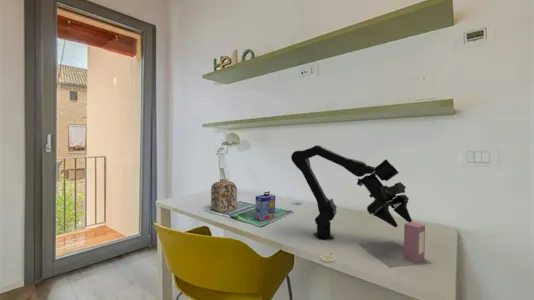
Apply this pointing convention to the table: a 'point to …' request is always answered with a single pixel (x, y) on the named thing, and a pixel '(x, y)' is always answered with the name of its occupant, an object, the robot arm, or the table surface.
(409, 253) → the pink box
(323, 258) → the sign
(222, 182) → the decorative jar
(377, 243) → the mat
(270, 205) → the ink cartridge box
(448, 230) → the table surface
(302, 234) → the table surface
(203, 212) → the table surface
